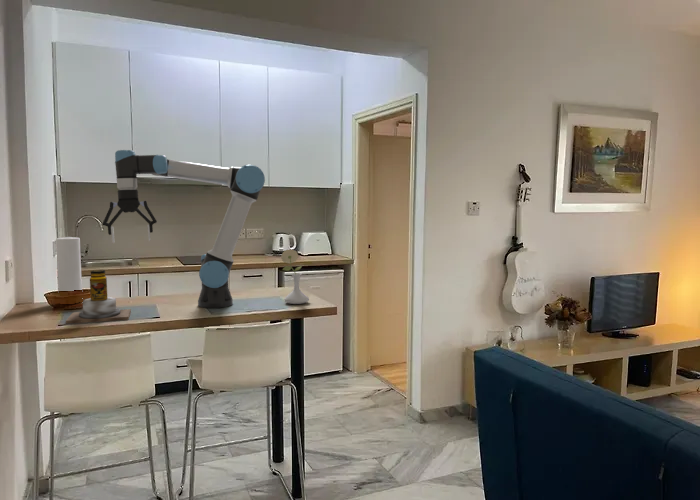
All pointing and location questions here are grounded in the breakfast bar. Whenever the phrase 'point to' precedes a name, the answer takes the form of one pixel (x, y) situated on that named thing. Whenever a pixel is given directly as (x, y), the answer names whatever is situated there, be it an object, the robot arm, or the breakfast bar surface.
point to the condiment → (98, 286)
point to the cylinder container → (69, 264)
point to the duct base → (80, 320)
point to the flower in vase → (296, 294)
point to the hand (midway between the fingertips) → (131, 241)
